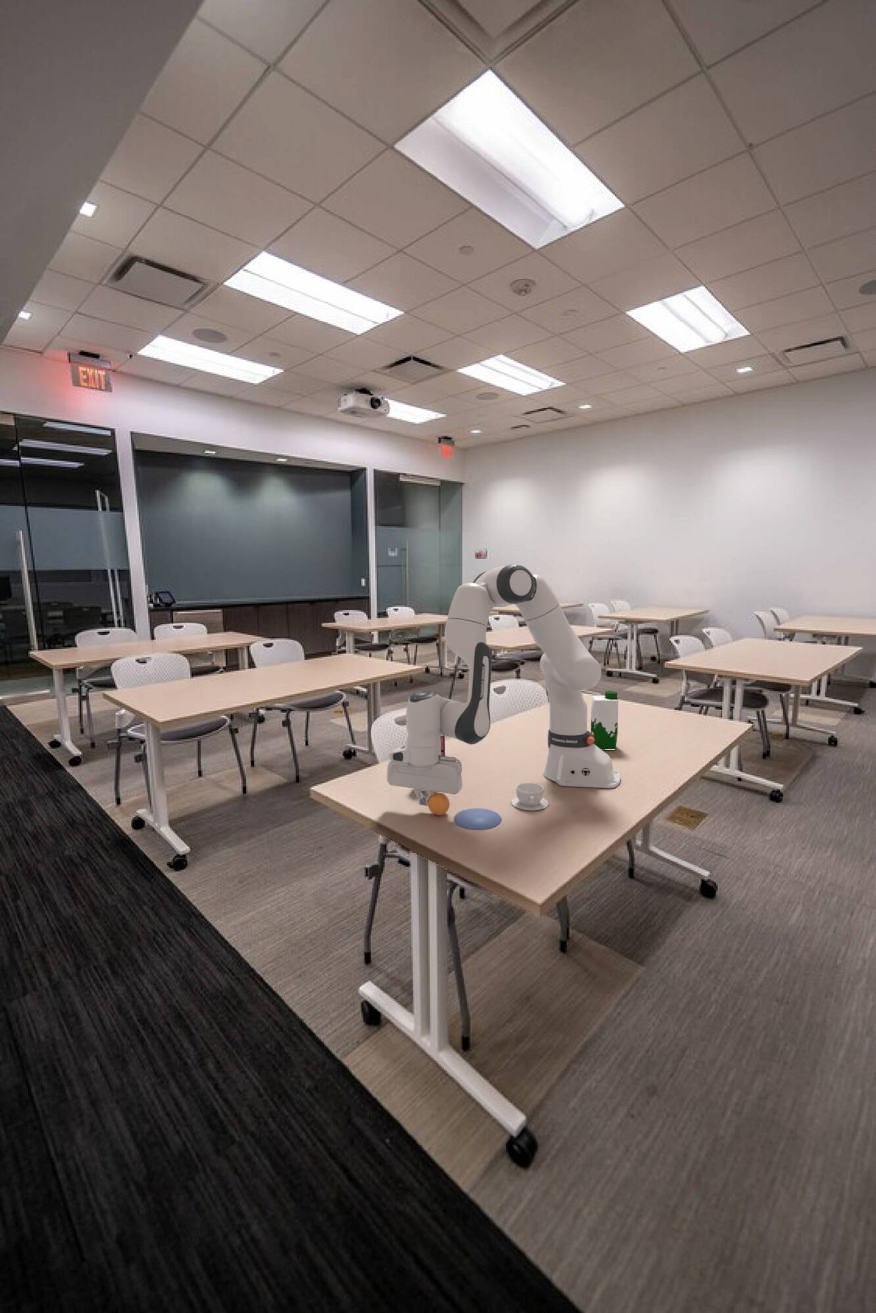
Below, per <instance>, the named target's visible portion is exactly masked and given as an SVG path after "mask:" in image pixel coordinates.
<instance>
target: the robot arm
mask: <svg viewBox="0 0 876 1313" xmlns="http://www.w3.org/2000/svg"><path fill="white" fill-rule="evenodd" d="M510 605H515V606H516V607H517V608H518V610H519V612H520V615H521V616H522V619H523V621H524V622H525V625H526V627H527V629H528V631H529V633H530V634H531V637H532V638H533V640H534V643H535V644H536V645H537V646H538V647H539V648H540V649H541V651H542V652H543V654H542V655H541V657H540V661H539V666H540V670H541V672H542V673H543V676H544V682H545V688H546V691H547V698H548V705H549V729H548V730H547V747H548V754H547V760H546V764H545V768H544V771H543V776H544V777H545V778H546V779H548V780H550V781H552V782H555V783H556V784H558V785H559V786H562V787H578V788H579V787H580V788H598V789H600V788H601V789H603V788H604V789H613V788H616V787H617V786H619V785H620V783H621V781H620V780H621V774H620V773H619V771H618V770H616V769H614V766H613V762H612V759H611V757H610V755H609V754H607V753H606V752H605V750H601V749H600V748H598V747H597V746H596V745H595V744H593V743H594V735H593V732H592V733H591V731H589V730H588V705H587V702H586V700H585V697H584V695H583V692H582V691H583V690H585V691H586V690H590V689H593V688H594V687H596V685H597V684H598V683H600V682H599V681H600V679H601V677H602V667H601V664H600V663H599V662H598V660H596V659H595V658H594V656H592V654H591V653H590V652H589V650H588V648H586V646H585V645H584V643H583V642H582V640H581V639H580V638H579V636H578V635H577V633H575V631H574V629H573V628H572V626H571V625H570V623H569V621H568V619H567V616H566V615H565V612H564V610H563V609H562V607H561V603H559V601H558V598H557V596H556V594H555V592H554V591H553V590H552V587H551V586H550V585H549V583H548V582H547V581H546V579H545V578H544V577H543V576H542V575H541V574H540V575H539V574H533V573H532V572H531V571H530V570H529V569H528V568H526V567H525V566H523V565H520V564H515V563H514V564H508V565H502V566H497V567H493V568H491V569H490V570H487V571H483V572H481V573H480V574H478V575H477V577H475V578H474V580H473V581H472V582H465V583H463V584H460V586H458V587H457V589H456V591H455V593H454V594H453V598H452V601H451V604H450V606H449V611H448V613H447V614H448V615H447V618H446V623H445V629H444V641H445V643H446V645H447V647H448V648H449V650H451V652H452V653H454V654H455V655H456V656H458V658H460V659H462V660H463V661H464V663H465V664H466V665H467V667H468V668H467V669H468V671H469V672H468V673H469V675H468V676H469V677H468V688H467V689H468V690H467V700H466V702H461V701H457V700H454V699H449V698H447V697H446V698H445V697H443V696H440V695H439V694H438V693H437V692H436V691H434V690H428V689H427V690H419V691H416V692H414V693H413V694H411V695H410V696H409V698H408V700H407V704H406V713H405V717H406V718H405V719H406V720H405V725H406V730H407V740H406V744H405V745H400V746H398V747H396V748H395V749H393V750H392V751H391V752H389V755H388V756H389V758H388V759H389V762H388V765H387V771H386V781H387V783H388V785H390V786H394V787H401V788H408V789H413V788H414V789H413V791H414V794H415V796H416V797H417V799H418V805H419V806H427V807H428V801H429V799H430V797H431V796H432V795H433V794H435V793H443V794H450V795H457V794H458V793H460V792H461V790H462V789H463V777H462V771H463V769H462V768H463V764H462V762H461V761H460V760H459V759H457V757H455V756H447V755H445V756H441V740H440V737H441V736H442V735H445V737H449V738H452V739H456V740H458V741H460V742H462V743H463V742H464V743H465V744H467V745H475V744H478V743H479V742H481V741H483V739H485V738H486V736H487V735H488V734H489V732H490V729H491V712H490V711H491V710H490V700H491V699H490V698H491V682H492V681H491V680H492V666H493V665H492V662H493V661H492V651H491V649H490V647H489V645H488V643H487V628H488V623H489V616H490V614H491V612H492V610H493V608H506V607H508V606H510ZM421 790H426V791H425V792H426V793H425V794H427V796H424V794H423V793H422V792H423V791H421ZM434 791H435V792H434Z"/></svg>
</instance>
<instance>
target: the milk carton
mask: <svg viewBox="0 0 876 1313" xmlns="http://www.w3.org/2000/svg"><path fill="white" fill-rule="evenodd" d="M618 698H619V697H618V691H615V690H614V691H612V690H610V691H609V690H607V691H605V694H604V695H601V694H600V695H592V698H591V699H592V700H591V705H590V706H591V707H590V709H591V710H590V733H592V732H593V735H594V743H593V744H595V745H596V746H597V747H598V748H600V749H615V748H617V742H618V741H617V740H618V733H619V732H618V731H619V730H618V728H619V727H618V726H619V701H618V700H619V699H618Z"/></svg>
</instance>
